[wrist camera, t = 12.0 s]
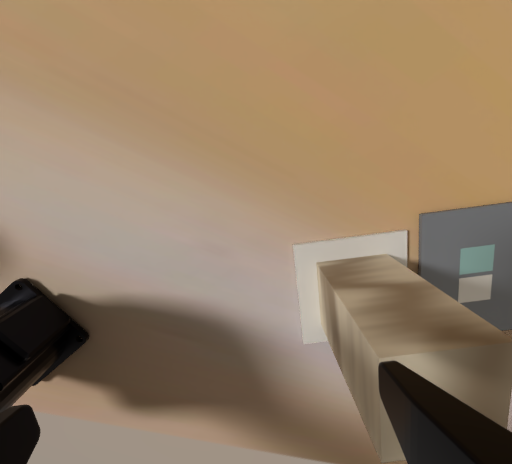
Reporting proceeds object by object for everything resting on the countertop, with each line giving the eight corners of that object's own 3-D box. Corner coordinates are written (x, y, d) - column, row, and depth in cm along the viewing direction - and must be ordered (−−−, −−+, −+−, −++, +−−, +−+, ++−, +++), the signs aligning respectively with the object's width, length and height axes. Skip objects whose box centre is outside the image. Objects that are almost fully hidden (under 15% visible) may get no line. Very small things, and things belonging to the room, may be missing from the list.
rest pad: (302, 341, 22) (303, 344, 21) (292, 244, 20) (293, 245, 19) (404, 328, 22) (407, 331, 21) (405, 229, 20) (407, 230, 19)
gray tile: (417, 338, 22) (420, 341, 22) (419, 213, 19) (422, 214, 19) (558, 320, 22) (563, 323, 21) (578, 193, 19) (583, 193, 19)
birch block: (321, 324, 21) (381, 462, 11) (316, 262, 20) (378, 358, 10) (386, 316, 21) (504, 448, 11) (386, 253, 20) (517, 341, 10)
